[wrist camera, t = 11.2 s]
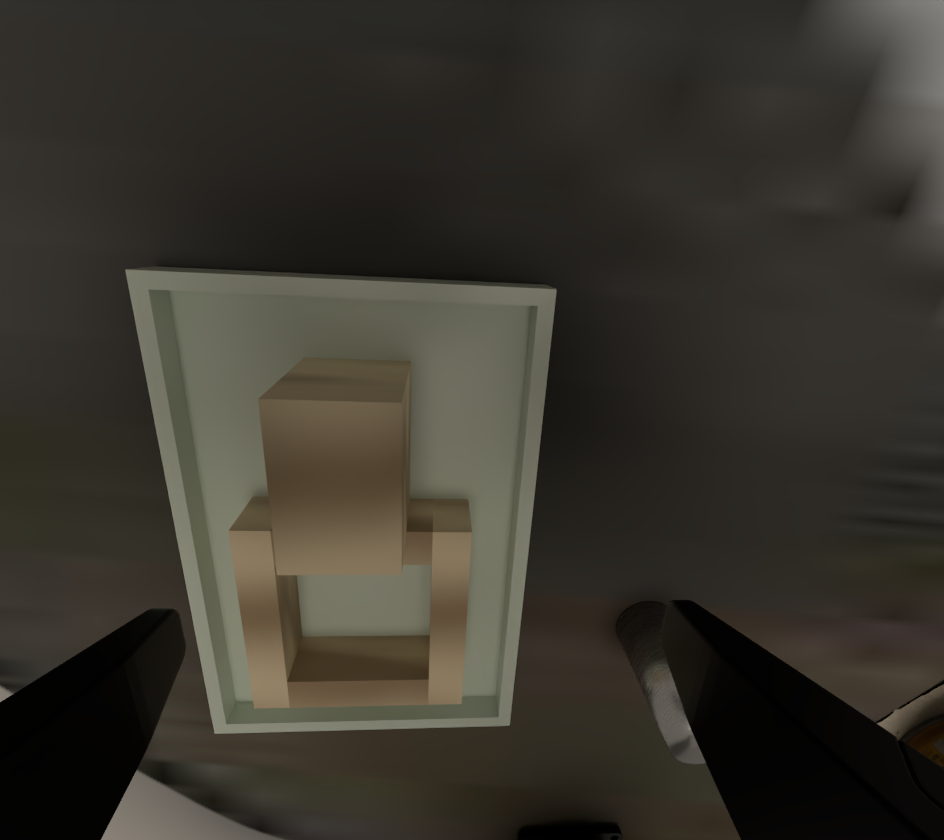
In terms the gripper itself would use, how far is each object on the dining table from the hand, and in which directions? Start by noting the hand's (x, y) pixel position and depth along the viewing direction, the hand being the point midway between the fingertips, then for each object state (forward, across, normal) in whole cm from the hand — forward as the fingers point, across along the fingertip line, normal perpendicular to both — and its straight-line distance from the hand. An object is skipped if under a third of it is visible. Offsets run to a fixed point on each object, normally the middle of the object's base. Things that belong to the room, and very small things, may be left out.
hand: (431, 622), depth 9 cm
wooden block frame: (+11, +3, +5) cm, 13 cm away
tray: (+12, +3, +5) cm, 13 cm away
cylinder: (+12, -11, +12) cm, 20 cm away
